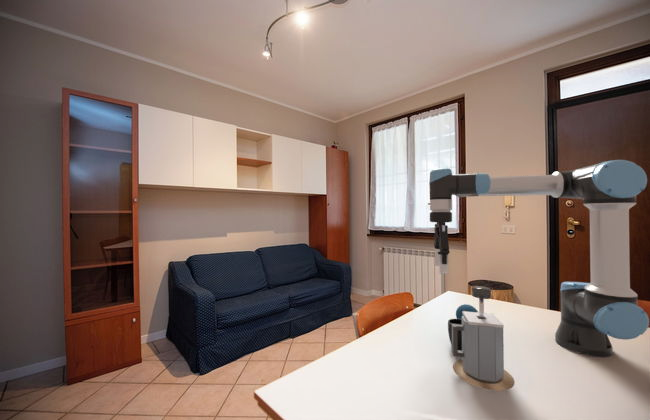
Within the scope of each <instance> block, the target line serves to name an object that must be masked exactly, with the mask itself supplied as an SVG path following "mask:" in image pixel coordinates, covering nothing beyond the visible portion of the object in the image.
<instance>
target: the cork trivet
mask: <svg viewBox="0 0 650 420" xmlns="http://www.w3.org/2000/svg"><path fill="white" fill-rule="evenodd" d="M452 371H453V372H454V373H455V375H456V376H457V377H459V378H460V379H461V380H463V381H464V382H466V383H468V384H470V385H472V386H475V387H477V388H480V389H485V390H489V391H498V392H501V391H507V390H511V389H512V388H513V387H514V386H515V380H514V376H513V375H512V374H510V373H509V372H508V371H507V370H506V369H504V377H503V378H502V381H501V382H499V383H496V384H489V383H483V382H480V381H477V380H474V379H472V378H471V377H469V376H468V375H467V374H466V373H465V372H464V371H463V366H462V358H461V359H457V360H456V361H455V362H453V364H452Z"/></svg>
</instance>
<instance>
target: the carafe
mask: <svg viewBox="0 0 650 420" xmlns="http://www.w3.org/2000/svg"><path fill="white" fill-rule="evenodd" d="M462 314H463V316H462V325H460V324H452V345H451V353H452V357H456V358H461V359H462V366H463V371H464V372H465V373H466V374H467V375H468V376H469V377H471V378H472V379H474V380H477V381H480V382H483V383H489V384H496V383H499V382H501V381H502V378H503V377H504V370H505V369H504V368H505V362H504V361H505V360H504V353H505V352H504V346H505V345H504V324H503V323H502V321H500V319H499V318H498V317H497V316H496V315H495V314H494V313H488V312H487V313H486V312H484V319H479V311H478V312H467V311H462ZM478 325H479V326H478ZM488 326H489V327H488ZM457 330H461V331H462V351H461V350H458V341H457Z"/></svg>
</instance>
